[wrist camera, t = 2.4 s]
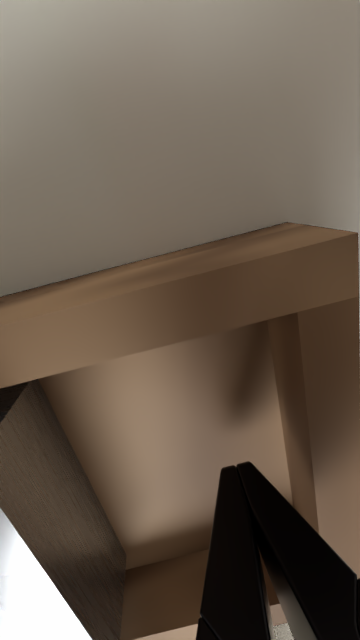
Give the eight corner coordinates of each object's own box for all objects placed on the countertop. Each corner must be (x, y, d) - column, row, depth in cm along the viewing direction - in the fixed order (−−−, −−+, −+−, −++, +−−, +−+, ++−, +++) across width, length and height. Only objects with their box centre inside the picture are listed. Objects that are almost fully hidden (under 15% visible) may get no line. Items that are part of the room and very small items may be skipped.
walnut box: (286, 222, 8) (358, 233, 5) (316, 514, 12) (363, 604, 10) (-350, 388, 8) (-607, 483, 5) (-96, 617, 13) (-166, 733, 10)
